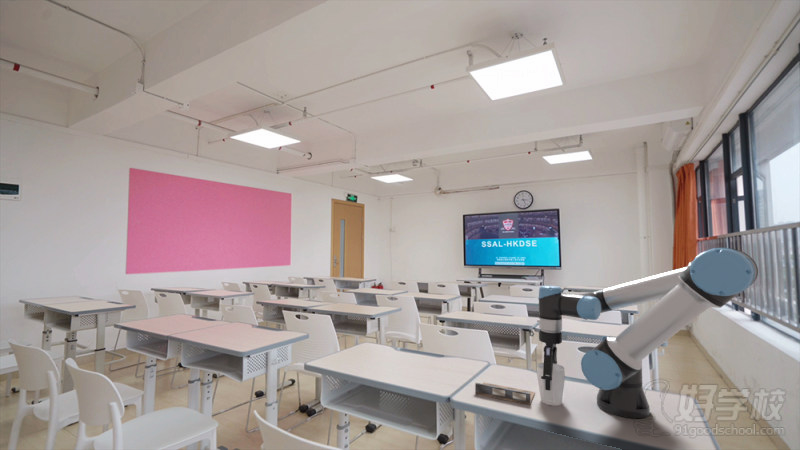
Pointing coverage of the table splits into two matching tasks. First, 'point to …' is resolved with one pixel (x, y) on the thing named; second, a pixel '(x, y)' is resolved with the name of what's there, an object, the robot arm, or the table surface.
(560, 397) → the cup
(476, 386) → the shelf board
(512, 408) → the table surface
